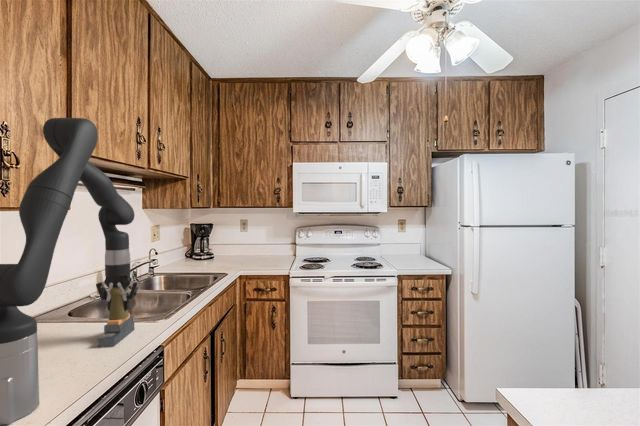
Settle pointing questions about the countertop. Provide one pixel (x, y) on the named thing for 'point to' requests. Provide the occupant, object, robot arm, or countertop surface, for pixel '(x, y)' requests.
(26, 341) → the robot arm
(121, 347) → the countertop surface
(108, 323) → the orange button
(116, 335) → the grey slotted housing
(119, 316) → the cork
